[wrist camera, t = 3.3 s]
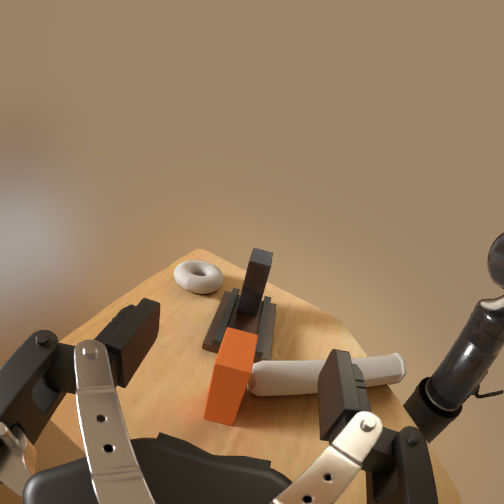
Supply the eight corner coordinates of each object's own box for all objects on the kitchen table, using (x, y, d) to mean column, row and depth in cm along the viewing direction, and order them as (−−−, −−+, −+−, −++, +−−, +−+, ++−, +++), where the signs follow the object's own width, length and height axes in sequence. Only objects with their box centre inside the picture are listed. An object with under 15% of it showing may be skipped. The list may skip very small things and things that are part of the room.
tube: (254, 390, 30) (410, 375, 36) (249, 351, 34) (399, 347, 40) (243, 403, 33) (390, 389, 39) (240, 368, 37) (381, 362, 43)
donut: (223, 277, 62) (179, 267, 61) (227, 263, 60) (181, 252, 59) (219, 302, 52) (167, 290, 51) (222, 286, 51) (169, 274, 50)
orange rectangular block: (240, 390, 34) (258, 334, 30) (232, 426, 28) (251, 372, 25) (214, 383, 34) (227, 326, 30) (202, 418, 28) (214, 363, 25)
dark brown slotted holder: (274, 309, 54) (291, 257, 50) (268, 366, 39) (290, 304, 35) (224, 296, 54) (235, 242, 50) (201, 348, 40) (213, 284, 35)
